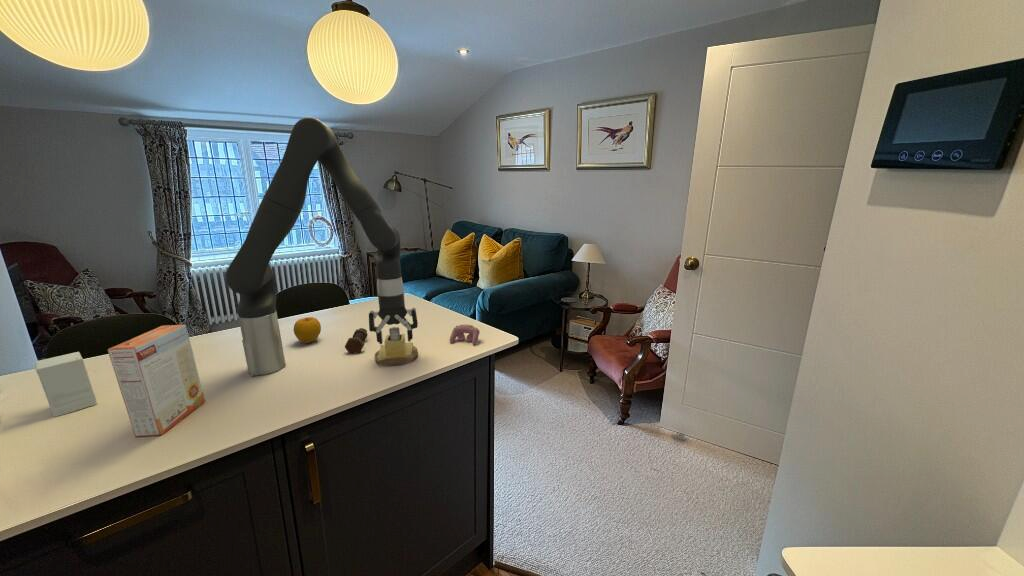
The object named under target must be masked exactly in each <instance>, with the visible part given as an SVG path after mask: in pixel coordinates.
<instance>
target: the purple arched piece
mask: <svg viewBox="0 0 1024 576" xmlns="http://www.w3.org/2000/svg"><path fill="white" fill-rule="evenodd" d="M480 333H481V332H480V329H479V328H478V327H476V326H474V325H471V324H458V325H456V326H454V328H453V329H452V331H451V335H449V343H450V344H453V343H454V341H455V340H456V339H458V341H460V342H463V341H465V339H466V341H467V342H470V343H471V342H472V345H473V346H475V345H477V343H478V340H479V336H480ZM465 334H467V336H465Z"/></svg>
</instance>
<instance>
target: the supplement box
mask: <svg viewBox="0 0 1024 576" xmlns="http://www.w3.org/2000/svg"><path fill="white" fill-rule="evenodd" d="M84 361H85V360H84V358H83V357H82V355H81V353H80V351H77V352H76V351H75V352H71V353H67V354H62V355H59V356H58V355H57V356H53V357H49V358H44V359H41V360H40V359H39V360H36V361H35V362H36V364H35V372H36V373H37V375H38V378H39V381H40V383H41V386H42V389H43V391H44V394H45V397H46V400H47V402H48V405H49V408H50V410H51V413H52V415H53V417H54V418H57V417H60V416H63V415H65V414H69V413H72V412H75V411H79V410H82V409H85V408H89V407H92V406H96V405H97V404H98V402H97V398H96V394H95V392H94V389H93V386H92V383H91V379H90V375H89V374H88V370H87V368H86V364H85V362H84Z"/></svg>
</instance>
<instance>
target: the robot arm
mask: <svg viewBox="0 0 1024 576" xmlns="http://www.w3.org/2000/svg"><path fill="white" fill-rule="evenodd" d="M285 147H286V148H285V151H284V154H283V156H282V159H281V161H280V163H279V165H278V167H277V170H276V171H275V172H274V175H273V177H272V178H271V181H270V183H269V185H268V187H267V189H266V191H265V193H264V195H263V197H262V199H261V202H260V203H259V206H258V208H257V211H256V213H255V216H254V217H253V220H252V222H251V224H250V227H249V230H248V232H247V234H246V237H245V239H244V241H243V244H242V245H241V247H240V248H239V250H238V252H237V253H236V255H235V256H234V258H233V260H232V261H231V262H230V264H229V266H228V268H227V269H226V272H225V282H226V285H227V287H228V288H229V289H230V290H231V291H232V292H234V293H236V294H239V301H238V304H237V306H236V311H237V313H236V314H237V316H238V321H239V327H240V332H241V337H242V340H241V341H242V346H243V351H244V356H245V362H246V367H247V370H248V372H249V375H250V376H251V377H255V376H262V375H268V374H272V373H275V372H278V371H280V370H282V369H283V368H285V366H286V360H285V355H284V347H283V342H282V336H281V329H280V325H279V318H278V312H277V306H276V303H277V290H276V283H275V276H274V271H273V268H272V267H271V264H270V262H271V260H272V257H273V255H274V253H275V252H276V250H277V249H278V247H279V246H281V244H282V243H283V241H284V240H285V239H286V237H287V236H288V235H289V233H290V232H291V231H292V230H293V228H294V226H295V224H296V222H297V221H298V218H299V217H300V215H301V213H302V211H303V208H304V206H305V201H306V198H307V192H308V184H309V180H310V176H311V173H312V171H313V170H314V168H315V165H316V164H317V162H319V163H320V165H322V167H323V168H324V169H325V170H326V172H327V173H328V174H329V176H330V177H331V179H332V180H333V182H334V184H335V185H336V188H337V190H338V192H339V193H340V195H341V197H342V199H343V201H344V203H346V206H347V207H348V209H350V211H351V212H352V214H353V215H354V217H355V218H356V219H357V220H358V221H359V223H360V226H361V228H362V229H363V232H364V234H365V235H366V237H367V238H368V240H369V241H370V242H369V243H370V244H372V245H373V247H374V248H375V249H376V251H377V259H376V261H375V270H376V271H375V272H376V280H377V281H376V287H377V288H376V290H377V297H378V298H377V299H378V309H379V310H378V311H374V310H370V311H369V312H368V326H369V332H371V333H372V332H374V333H375V334H376V342H377V343H378V344H379V345H383V341H384V340H383V331H382V330H383V328H384V327H385V326H386V325H388V326H390V325H399V324H401V325H402V326H403V327H405V328H406V329H407V330H406V334H407V341H408V342H407V343H411V340H413V336H414V335H413V329H417V328H418V325H419V323H418V316H417V310H416V307H412V308H410V309H407V308H406V304H405V303H406V302H405V292H404V291H405V287H404V282H403V278H402V268H401V266H402V265H401V258H400V257H401V236H400V233H399V230H398V229H397V228H396V227H395V226H394V225H391V224H388V223H387V221H386V219H385V218H384V217H383V215H382V209H381V207H380V206H379V205H378V203H377V202H376V200H375V199H374V197H373V196H372V195H371V193H370V192H369V190H368V189H367V187H366V186H365V185H364V183H363V182H362V181H361V180H360V178H359V177H358V175H357V174H356V172H355V170H353V168H352V166H351V165H350V163H349V162H348V160H347V157H346V156H345V154H344V153H343V149H342V148H341V146H340V144H339V142H338V140H337V138H336V135H335V133H334V130H332V129H331V127H330V126H329V125H327V124H326V123H324V122H323V121H322V120H320V119H318V118H315V117H312V116H311V117H310V116H307V117H302V118H301V119H299V120H298V121H296V123H294V125H293V127H292V130H291V132H290V135H289V139H288V142H287V144H286V146H285ZM407 314H408V315H409V317H411V318H412V323H410V322H409V320H408V319H407V318H406V316H407ZM377 316H378V317H379V318H380V319H381V321H380V323H379V324H378V326H376V325H375V319H376V318H377Z"/></svg>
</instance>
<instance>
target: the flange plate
mask: <svg viewBox="0 0 1024 576" xmlns="http://www.w3.org/2000/svg"><path fill="white" fill-rule="evenodd" d="M413 346H414V342H411V341H410V342H406V333H400V340H390V334H389V335H388V334H387V335H386V336H385V338H384V344H380V348H379V350H380V351H379V350H378V351H379V354H378V357H377V360H378V361H381V360H392V359H403V358H412V351H413Z"/></svg>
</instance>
